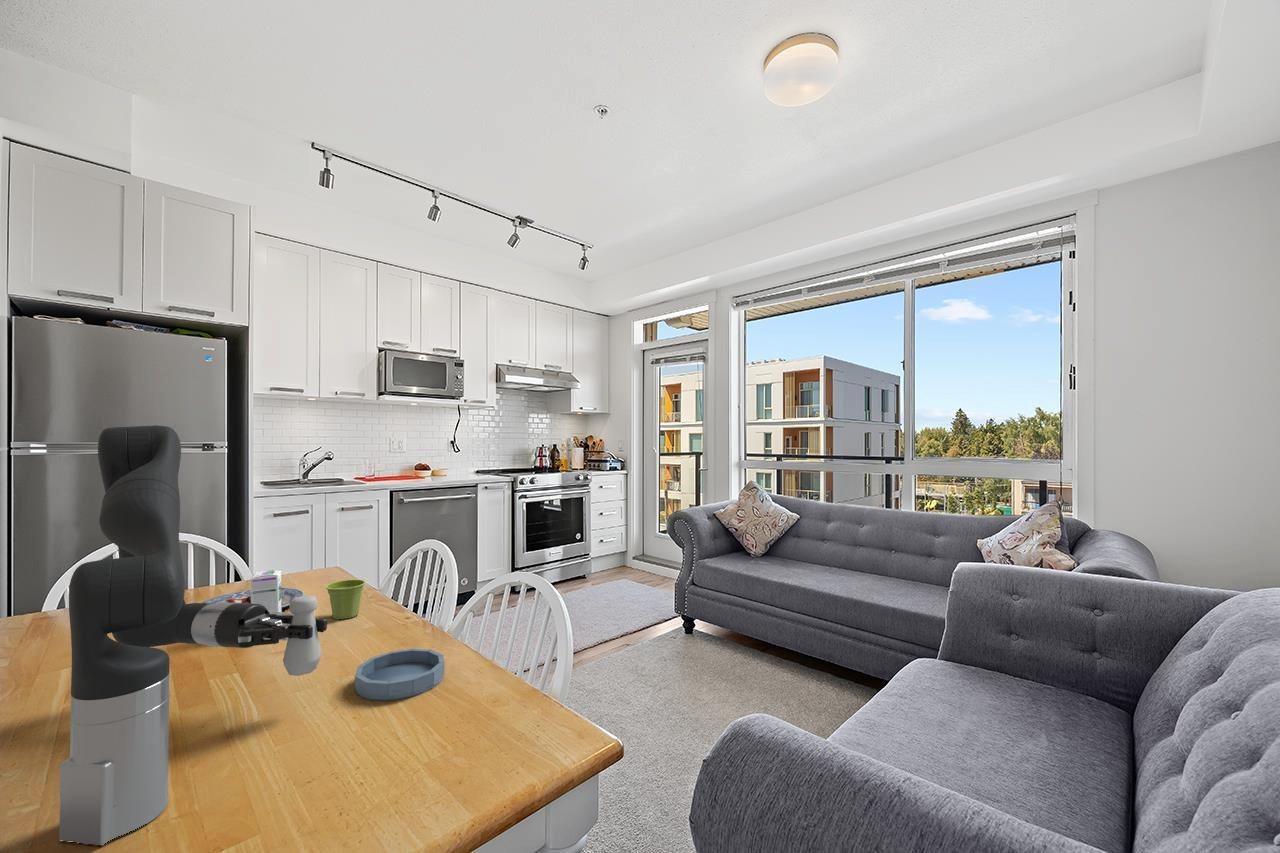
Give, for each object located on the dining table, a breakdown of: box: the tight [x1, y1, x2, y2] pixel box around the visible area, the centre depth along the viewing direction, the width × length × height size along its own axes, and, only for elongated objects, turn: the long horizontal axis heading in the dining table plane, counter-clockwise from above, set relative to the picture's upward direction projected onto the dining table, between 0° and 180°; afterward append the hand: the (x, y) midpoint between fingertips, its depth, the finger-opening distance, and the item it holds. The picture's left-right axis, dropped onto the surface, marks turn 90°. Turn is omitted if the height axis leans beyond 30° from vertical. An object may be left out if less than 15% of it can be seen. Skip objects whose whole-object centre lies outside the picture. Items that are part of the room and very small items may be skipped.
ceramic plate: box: [200, 587, 305, 608], centre depth 154 cm, size 26×26×3 cm
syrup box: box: [250, 569, 283, 613], centre depth 136 cm, size 6×6×14 cm
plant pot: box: [325, 579, 366, 620], centre depth 148 cm, size 9×9×9 cm
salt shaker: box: [282, 595, 322, 677], centre depth 98 cm, size 6×6×13 cm
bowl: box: [354, 648, 445, 702], centre depth 109 cm, size 16×16×3 cm
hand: (318, 628), depth 97 cm, fingers closed on salt shaker, 3 cm apart
